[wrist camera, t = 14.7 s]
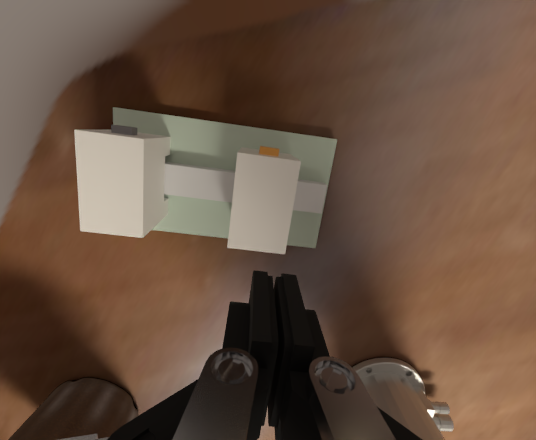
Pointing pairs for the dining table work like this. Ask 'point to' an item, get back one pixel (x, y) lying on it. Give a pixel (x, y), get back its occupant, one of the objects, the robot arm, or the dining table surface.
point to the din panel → (225, 156)
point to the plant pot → (79, 412)
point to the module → (263, 199)
